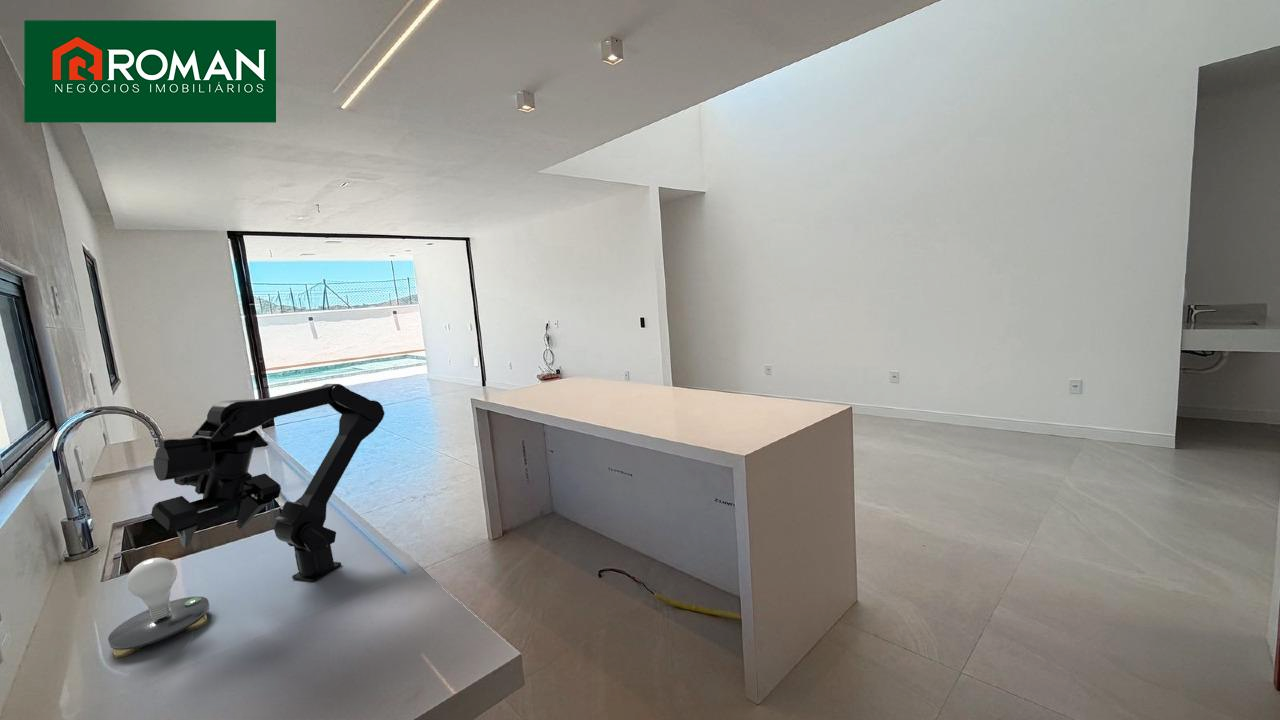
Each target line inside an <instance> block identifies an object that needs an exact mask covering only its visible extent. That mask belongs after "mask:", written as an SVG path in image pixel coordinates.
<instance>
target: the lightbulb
mask: <svg viewBox="0 0 1280 720" xmlns="http://www.w3.org/2000/svg"><path fill="white" fill-rule="evenodd" d="M177 577H178V568H177V565H176V564H175V563H174V562H173V561H172V560H171V559H168V558H165V557H153V558H149V559H144V560H143V561H141V562H140V563H138V564H137V565H136V566H134V567H133V569H131V570H130V572H129V573H128V575H127V578H126V587H127V589H128V591H129V592H130V593H131V594H132V595H133V596H135V597H136V598H139V599H141V600H142V602H143V603H144V604H145V606H147V607H148V609H149V611H150V615H151V619H152V620H161V619H164V618H165V617H167V616H168V615H169V614H170V613H171V612H172V610H171V606H170V601H171V600H170V598H171V590H172V587H173V585H174V583H175V581H176V579H177Z"/></svg>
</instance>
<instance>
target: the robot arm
mask: <svg viewBox="0 0 1280 720" xmlns="http://www.w3.org/2000/svg"><path fill="white" fill-rule="evenodd" d="M325 405H326V406H327V405H329V406H330V408H332V409H333V410H334V411H335V412H336V413H338V414H341V415H340V418H339V423H338V424H339V425H338V434H337V436H336V437H335V439H334V441H333V442H332V444H331V446H330V448H329V449H328V451H327V452H326V455H325V457H324V458H323V459H322V461H321V463H320V465H319V467H318V469H316V472H315V474H314V476H312V479H311V481H310V482H309V484H308V485H307V487H306V489H305V490H304V493H303V494H302V495H301V496H300V497H299V498H298V499H296V501H289V500H288V501H287V500H286V501H285V503H284V504H283V506H282V508H281V511H280V513H279V514H278V516H276V517H275V518H274V521H275V524H274V525H275V526H274V528H273V530H274V533H275V536H276V538H277V539H278V540H280V541H282V542H284V543H286V544H287V545H288V546H289V547H293V548H294V556H295V561H296V567H297V571H298V572H297V573H295V574H293V575H291V577H292V578H291V579H294V580H300V581H308V582H316V581H318V580H319V579H321V578H323V577H324V576H326V575H327V574H330V573H331V572H333V571H334V570H335V569H337V568H340V567H341V566H342V562H339V561H334V557H333V552H332V551H333V550H332V546H331V545H333V543H335V542H336V541H335V540H336V535H337V532H336V530H333V529H330V528H327V527H325V526H324V525H325V522H326V520H327V506H328V502H329V500H330V498H331V496H332V495H333V493H334V491H335V489H336V488H337V486H338V484H339V482H340V480H341V478H342V477H343V475H344V473H345V472H346V469H347V468H348V466H349V465H350V462H351V460H352V458H353V457H354V455H355V453H356V452H357V449H358V448H359V446H360V444H361V442H362V441H363V440H365V438H367V437H368V436H370V435H371V434H372V433H373V432H374V431H375V430H376V429H377V427H378V426H379V425H380V424H381V422H382V421H383V420H384V418H385V417H384V416H385V411H384V406H383V405H382V404H381V403H380V402H379V401H376V400H374V399H371V400H370V399H369V398H367V397H365V396H363V395H361V394H359V393H357V392H355V391H353V390H350V389H349V388H347V387H346V386H344V385H342V384H340V383H325V384H322V385H321V386H317V387H316V386H315V387H311V388H308V389H302V390H298V391H294V392H289V393H285V394H280V395H275V396H272V397H267V398H255V399H254V398H253V399H237V400H236V399H235V400H232V399H231V400H223V401H218V402H216V403H215V404H213V405H211V408H210V409H209V410H208V412H207V415H206V419H205V421H204V422H203V423H202V424H201V425H200V426H199V428H198V429H197V430H196V431H195V432H194V434H193V435H192V436H191V437H185V438H163V439H160V440H159V446H158V447H157V449H156V452H155V455H154V456H155V457H154V458H153V470H154V474H155V476H156V478H157V479H158V480H159V482H160V481H161V482H163V481H169V480H170V481H171V480H173V481H174V483H175V484H176V485H179V486H187V487H188V486H191V487H195V489H194V492H195V493H196V494H197V495H202V498H201V499H197V500H193V501H191V502H190V501H189V500H188V499H187V498H185V496H183V495H180V496H176V497H172V498H169V499H165V500H161V501H158V502H156V503H154V504H153V506H152V510H151V514H150V516H151V517H152V518H153V519H154V520H156V521H157V522H158V523H159V524H160V525H161V526H162V527H164V528H165V530H167V531H169V532H176V534H177V536H178V539H179V542H180V544H181V547H183V549H187V548H188V547H189V546H190V544H191V543H192V540H193V538H194V535H195V533H196V530H197V528H198V526H199V525H198V524H197V523H196V522H197V521H199V517H200V516H199V514H200V513H203V512H206V511H209V510H212V509H216V508H219V507H223V506H226V505H229V504H233V503H235V502H239V501H241V503H240V506H239V507H240V508H239V512H238V515H237V519H236V527H237V528H238V530H239V529H240V530H241V529H243V528H244V526H246V525H247V524H248V523H249V522H250V521H251V520H252V519H253V518H254V517H255V516H256V515H257V514H258V513H259V512H260V511H261V510H263V508H265V507H266V506H267V505H268V504H271V503H272V502H273V500H276V499H278V498H279V497H280V495H281V491H282V487H281V484H279V483H278V482H277V481H276V480H275V479H273V478H272V477H270V476H269V475H268V474H266V473H261V474H258V475H252V474H251V473H250V472H248V471H249V468H250V463H251V459H252V455H253V452H254V450H255V449H258V448H264V447H267V446H268V445H269V443H268V441H266V439H264V437H262V435H261V434H260V433H259V432H258V431H257V430H256V429H255V428H258V427H260V426H263V425H264V424H266V423H267V422H269V421H271V420H274V419H276V418H278V417H282V416H286V415H291V414H294V413H298V412H302V411H305V410H311V409H314V408H317V407H321V406H325ZM251 430H252V431H251ZM246 432H248V433H246Z"/></svg>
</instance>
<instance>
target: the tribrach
mask: <svg viewBox="0 0 1280 720" xmlns="http://www.w3.org/2000/svg"><path fill="white" fill-rule="evenodd" d="M169 601H170V606H171V610H172V612H171V613H170V614H169V615H168V616H167V617H165V618H164V619H161V620H152V619H151V615H150V611H149V608H148V609H146V610H144V611H142V612H140V613H138V614H136V615H134V616H132V617H130V618H128V619H127V620H125V621H123V622H122V623H121V624H119V625H118V626H116V628H114V629H113V630H112V632H110V633H109V635H108V639H107V640H108V644H109V647H110V648H111V649H112V651H113V655H114V658H115V659H121V658H122V659H123V658H126V657H128V656H131V655H132V654H134V653H137V651H139V650H141V648H142V647H145V646H148V645H151V644H152V645H153V644H155V643H158V642H160V641H162V640H165V639H167V638H170V637H172V636H174V635H176V634H179V633H181V632H183V631H184V632H187V633H188V632H193V631H196V630H198V629H200V628H202V627H204V626H206V624H208V623H209V622H208V617H207V613H208V611H209V609H210V602H209V599H208V598H207V597H204V596H189V597H188V596H187V597H182V598H177V599H175V600H169Z"/></svg>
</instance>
